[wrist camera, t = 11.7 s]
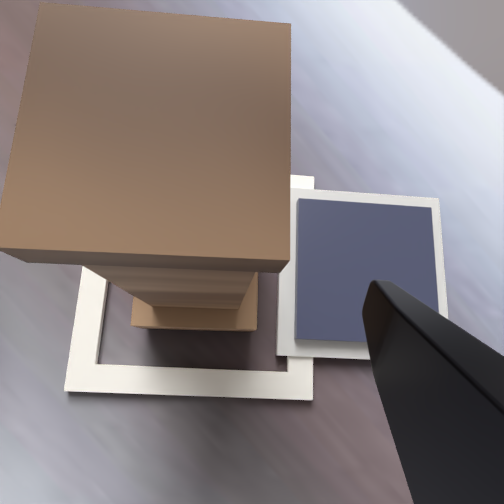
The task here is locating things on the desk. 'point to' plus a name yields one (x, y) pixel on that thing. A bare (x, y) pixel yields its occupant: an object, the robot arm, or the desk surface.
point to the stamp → (155, 159)
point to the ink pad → (353, 266)
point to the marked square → (171, 378)
